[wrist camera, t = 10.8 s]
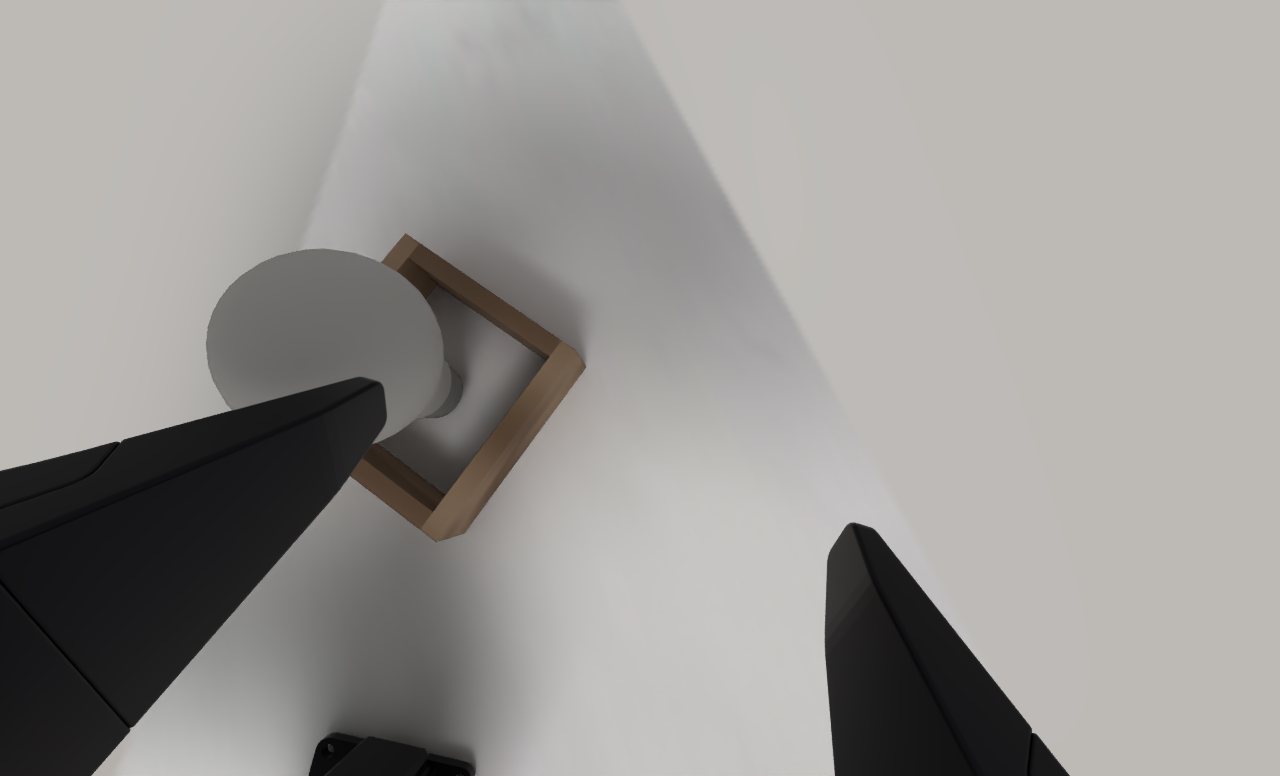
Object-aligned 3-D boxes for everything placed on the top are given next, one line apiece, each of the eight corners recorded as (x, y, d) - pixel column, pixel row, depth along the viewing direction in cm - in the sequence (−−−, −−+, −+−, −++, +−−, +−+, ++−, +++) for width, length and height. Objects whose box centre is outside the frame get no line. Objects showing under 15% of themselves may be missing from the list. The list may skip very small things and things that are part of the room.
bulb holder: (464, 533, 22) (435, 541, 19) (310, 415, 23) (260, 406, 20) (585, 367, 23) (577, 351, 20) (434, 263, 24) (405, 233, 21)
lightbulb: (530, 415, 23) (426, 361, 12) (412, 484, 22) (192, 494, 11) (470, 307, 24) (322, 167, 13) (355, 371, 23) (102, 281, 12)
